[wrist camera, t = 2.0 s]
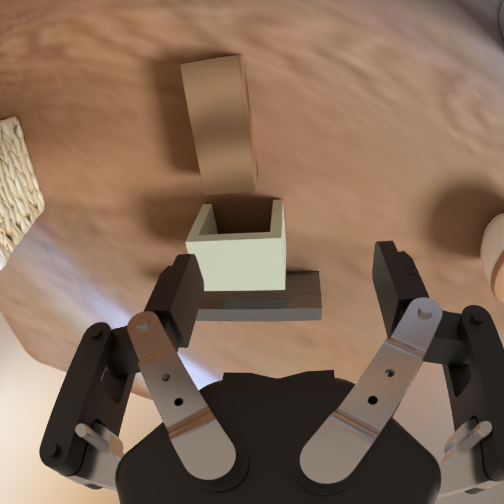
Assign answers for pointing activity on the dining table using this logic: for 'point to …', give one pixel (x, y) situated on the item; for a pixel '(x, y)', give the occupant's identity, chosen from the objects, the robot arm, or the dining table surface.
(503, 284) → the lidded jar
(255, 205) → the dining table surface
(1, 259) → the storage basket
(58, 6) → the dining table surface
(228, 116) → the walnut block
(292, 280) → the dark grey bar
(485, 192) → the dining table surface
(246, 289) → the sage block
